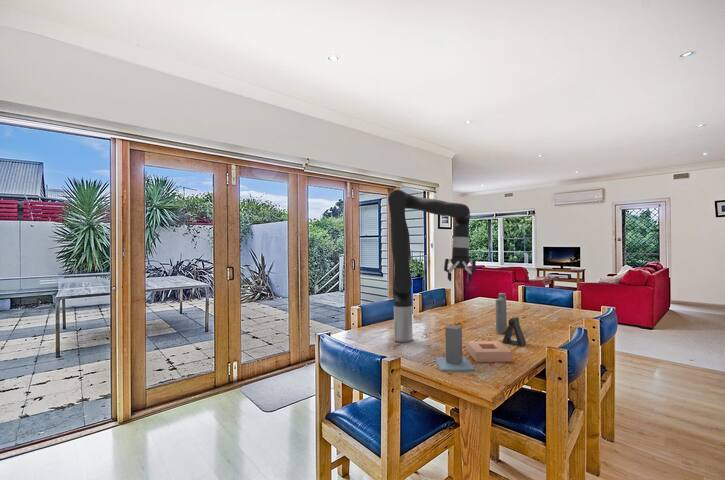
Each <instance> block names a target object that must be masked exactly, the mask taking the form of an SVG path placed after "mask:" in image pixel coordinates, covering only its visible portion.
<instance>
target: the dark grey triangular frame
mask: <svg viewBox="0 0 725 480" xmlns="http://www.w3.org/2000/svg"><path fill="white" fill-rule="evenodd" d="M513 333H514V335H515V338H516V340H514V339H512V335H513ZM502 344H508V345H512V346H519V347H524V345H526V344H527V341H526V338H525V335H524V333H523V330H522V328H521V325H520V318H519V317H518V316H516V317H515V316H513V317H511V318H510V319H509V320H508V325H507V329H506V331H505V334H504V337H503V340H502Z"/></svg>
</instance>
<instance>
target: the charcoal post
mask: <svg viewBox="0 0 725 480" xmlns="http://www.w3.org/2000/svg"><path fill="white" fill-rule="evenodd" d="M444 329H445V330H444V331H445V332H444V335H445V357H446V362H447V363H452V364H457V365H458V364H460V363H461V362H462V361H463V360H462V357H463V327H462V326H460V325H455V324H454V325H453V324H449V325H448V326H446V327H445V328H444Z"/></svg>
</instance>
